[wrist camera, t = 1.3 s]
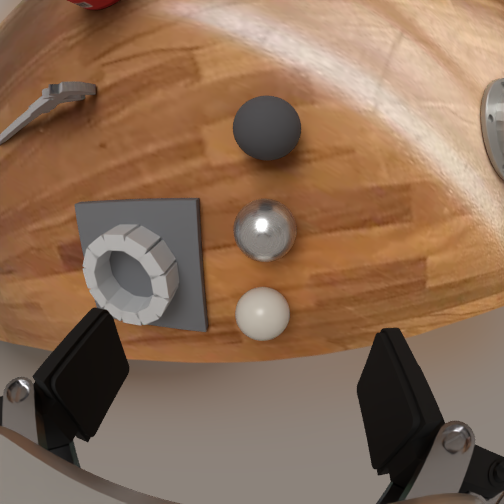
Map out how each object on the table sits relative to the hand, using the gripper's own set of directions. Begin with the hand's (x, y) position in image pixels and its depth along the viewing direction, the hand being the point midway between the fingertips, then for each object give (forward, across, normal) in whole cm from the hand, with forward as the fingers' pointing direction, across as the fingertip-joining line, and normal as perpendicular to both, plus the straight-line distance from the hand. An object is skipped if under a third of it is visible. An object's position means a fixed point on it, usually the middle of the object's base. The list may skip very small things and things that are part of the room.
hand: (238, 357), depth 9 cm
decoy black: (+14, 0, -8) cm, 16 cm away
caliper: (+17, +27, -13) cm, 34 cm away
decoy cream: (+14, 0, +8) cm, 16 cm away
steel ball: (+14, 0, 0) cm, 14 cm away
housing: (+17, +13, +5) cm, 22 cm away
